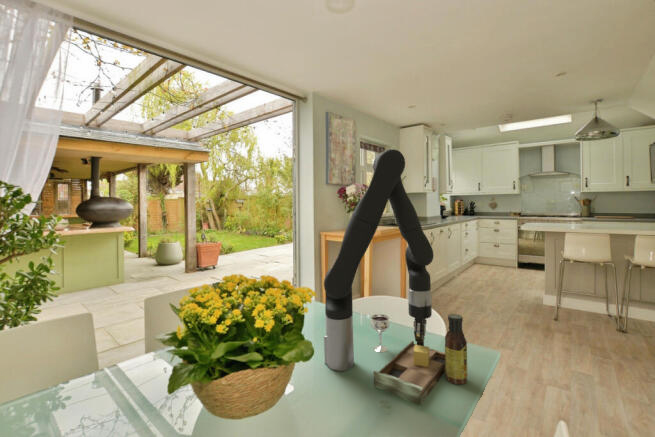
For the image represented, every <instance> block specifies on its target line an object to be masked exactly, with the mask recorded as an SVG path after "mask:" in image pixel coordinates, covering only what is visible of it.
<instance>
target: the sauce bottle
mask: <svg viewBox="0 0 655 437" xmlns="http://www.w3.org/2000/svg"><path fill="white" fill-rule="evenodd" d="M447 316H448V317H447V319H448V331H447V333H446V334H445V336H444V343H445V344H444V353H445V372H444V374H445V378H446V380H447V381H448V382H450V383H452V384H454V385H464V384H466V382H467V380H468V378H467V377H468V343H467V342H468V341H467V339H466V337H465V333H464V331H463V321H464V320H463V319H464V318H463V316H462V315H461V314H456V313H449V314H448V315H447Z"/></svg>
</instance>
